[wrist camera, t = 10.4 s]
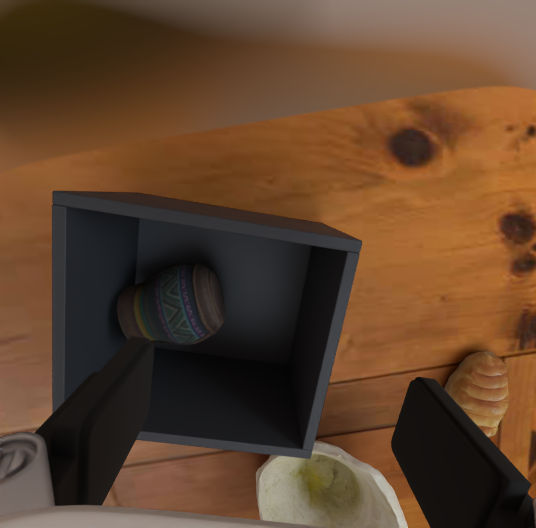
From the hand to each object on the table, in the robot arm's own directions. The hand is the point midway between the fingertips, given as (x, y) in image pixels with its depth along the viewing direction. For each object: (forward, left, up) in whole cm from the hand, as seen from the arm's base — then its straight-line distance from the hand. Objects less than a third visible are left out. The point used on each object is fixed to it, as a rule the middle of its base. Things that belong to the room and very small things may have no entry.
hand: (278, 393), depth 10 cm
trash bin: (+3, -4, -20) cm, 21 cm away
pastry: (+11, +26, -21) cm, 35 cm away
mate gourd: (+3, -4, -16) cm, 17 cm away
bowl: (+23, +10, -21) cm, 33 cm away
